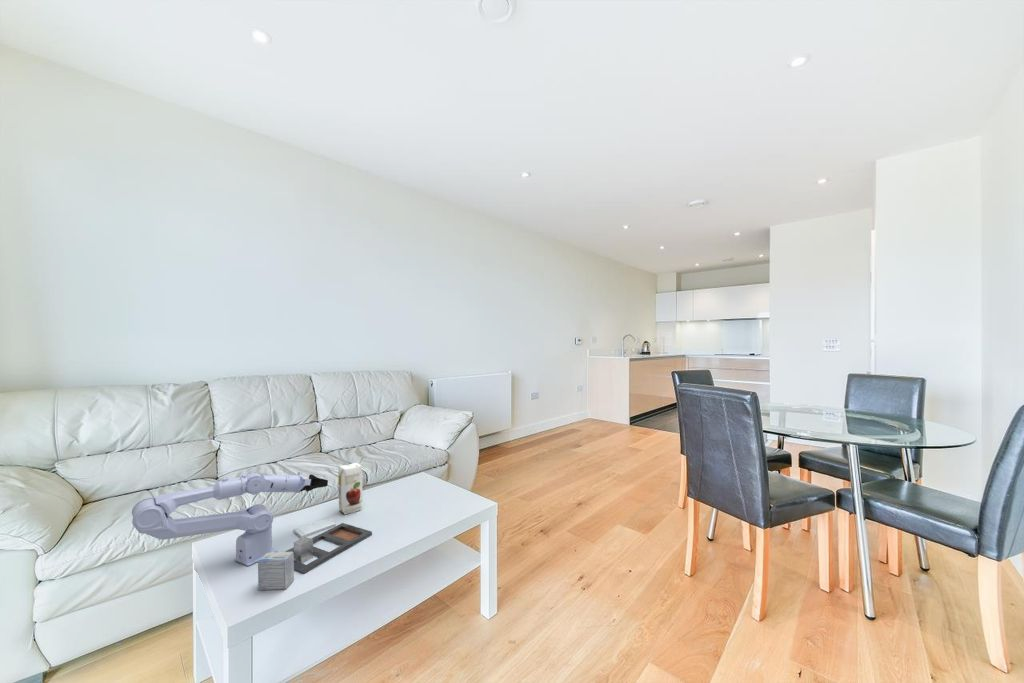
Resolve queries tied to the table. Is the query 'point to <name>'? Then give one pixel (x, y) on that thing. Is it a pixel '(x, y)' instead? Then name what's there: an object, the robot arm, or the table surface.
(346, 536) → the grey window frame
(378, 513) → the table surface
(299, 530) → the hard drive
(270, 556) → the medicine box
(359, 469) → the juice carton
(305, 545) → the grey metal block
